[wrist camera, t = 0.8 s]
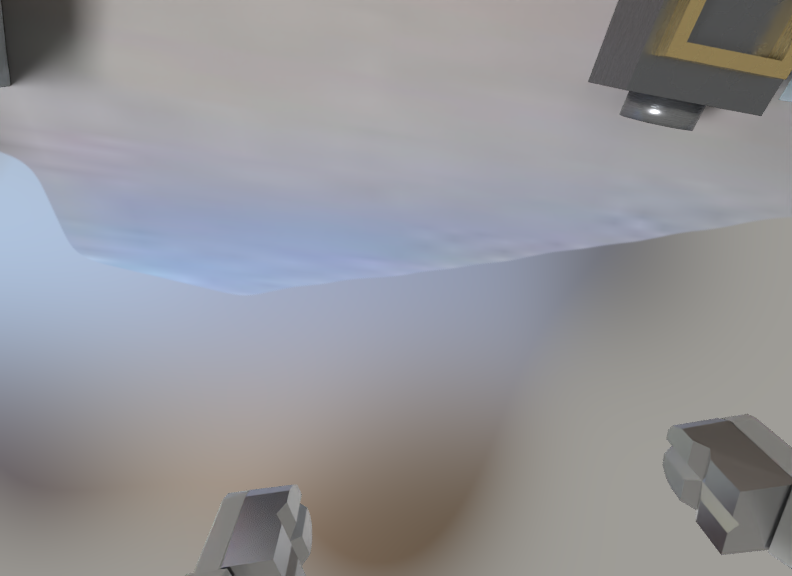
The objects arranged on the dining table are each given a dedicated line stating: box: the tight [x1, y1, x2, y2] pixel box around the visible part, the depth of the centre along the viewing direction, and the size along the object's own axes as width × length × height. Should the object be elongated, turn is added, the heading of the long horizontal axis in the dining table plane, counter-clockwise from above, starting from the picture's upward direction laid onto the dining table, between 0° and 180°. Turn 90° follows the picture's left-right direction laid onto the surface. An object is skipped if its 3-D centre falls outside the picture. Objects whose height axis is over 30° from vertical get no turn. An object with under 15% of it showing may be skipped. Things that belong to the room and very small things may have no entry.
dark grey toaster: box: [588, 0, 792, 131], centre depth 30 cm, size 16×11×10 cm
